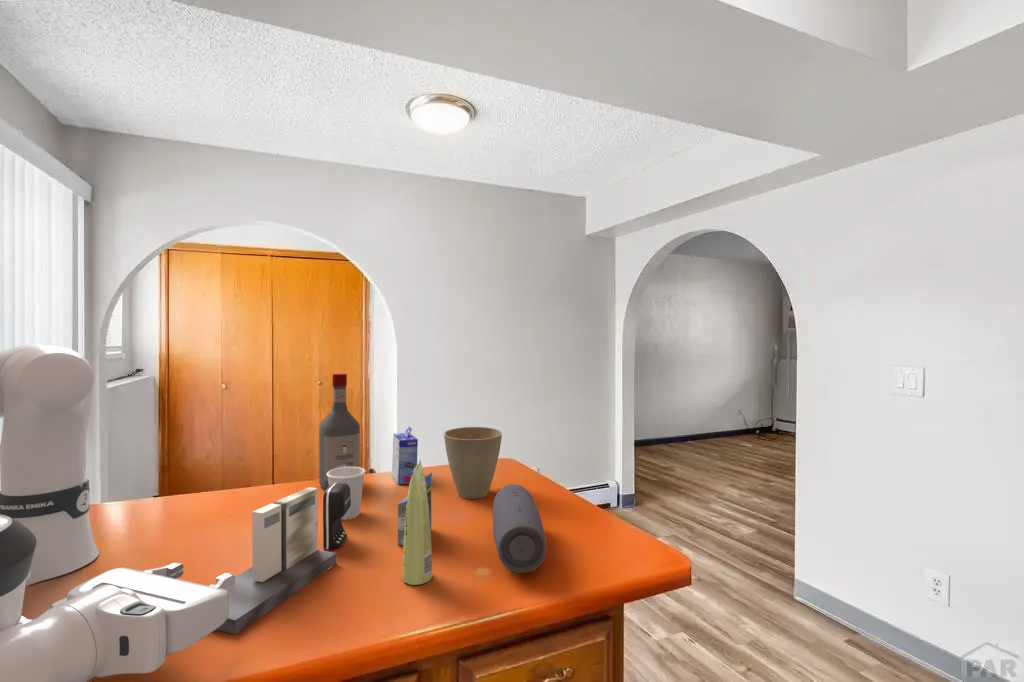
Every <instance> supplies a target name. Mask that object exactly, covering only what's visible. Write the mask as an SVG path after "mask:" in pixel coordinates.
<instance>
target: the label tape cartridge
mask: <svg viewBox="0 0 1024 682" xmlns="http://www.w3.org/2000/svg"><path fill="white" fill-rule="evenodd" d="M432 476H433V472H430V473H429V474H427V476H424V477H425V483H426V491H427V499H428V508H429V518H430V531H431V530H432V479H433V477H432ZM407 498H408V496H406V497H405V498H404V499H403V500H401V501H400V502H399V503H398V504H397V545H398V546H399V545H401V546H400V547H404V528H405V515H406V506H407Z"/></svg>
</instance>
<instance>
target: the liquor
mask: <svg viewBox="0 0 1024 682" xmlns="http://www.w3.org/2000/svg"><path fill="white" fill-rule="evenodd" d="M347 376H348V374H347V373H332V406H331V411H330V412H329V413H328V414H326V416H325V417H324V418H323V419H322V421H321V422H320V424H319V426H318V428H319V429H318V434H319V435H318V438H319V440H318V442H319V443H318V444H319V445H318V446H319V447H318V452H319V453H318V456H319V457H318V459H319V460H318V461H319V464H318V465H319V469H318V471H319V472H318V473H319V474H318V476H319V477H318V479H319V480H318V481H319V485H320V487H321V488H322V489H323V490H324V492H325V491H326V489H327V488H328V487H329V482H328V476H327V472H328V471H330V470H332V469H336V468H340V467H360V466H361V459H360V458H361V455H360V454H361V450H360V449H361V439H360V438H361V435H360V434H361V426H360V424H359V421H358V419H356V418H355V417H354V416H353V414H351V412H349V410H348V406H347V386H348V382H347V381H348V379H347ZM360 468H361V467H360Z"/></svg>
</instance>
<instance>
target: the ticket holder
mask: <svg viewBox="0 0 1024 682" xmlns="http://www.w3.org/2000/svg"><path fill="white" fill-rule="evenodd" d="M272 504H279V505H281V571H280V572H278V573H277V574H275V575H273V576H272V577H270V578H269V579H267V580H265V581H264V582H259V581H254V580H253V566H252V567H250V568H247V569H246V570H244V571H242V572H241V573H239V574H236V575H235V586H234V587H233V588H232V589H230V590H228V593H229V614H228V617H227V619H226V621H225V622H224V623H223V624H222V625H221V626H220V627H218V628H217V629H215V631H221V632H225V633H229V634H233V635H237V634H239V632H241V631H243V630H244V629H246V628H247V627H249V626H250V625H251V624H253V623H254V622H255V621H257V620H258V619H259V618H261V617H262V616H264V615H265V614H267V613H268V612H269V611H271V610H272V609H274V608H275V607H277V606H278V605H280V604H282V603H283V602H284V601H285V600H287V599H289V598H290V597H291V596H292V595H294V594H295V593H297V592H298V591H300V590H301V589H303V588H304V587H306V586H307V585H308V584H310V583H311V582H313V581H314V580H315V579H317V578H318V577H320V576H321V575H323V574H324V573H325V572H324V571H326V570H327V569H328V568H330V567H331V566H333V565H334V564H336V565H337V552H333V551H328V550H322V549H319V488H318V487H317V488H316V487H309V486H308V487H306V488H303V489H302V490H299V491H296V492H294V493H291V494H290V495H287V496H285V497H283V498H280V499H278V500H275V501H272ZM334 566H335V565H334ZM334 566H333V567H334ZM331 568H332V567H331ZM331 568H330V569H331ZM328 570H329V569H328ZM328 570H327V571H328ZM327 571H326V572H327ZM323 572H324V573H323ZM322 573H323V574H322ZM320 574H321V575H320ZM319 575H320V576H319ZM316 577H317V578H316ZM313 579H314V580H313ZM312 580H313V581H312ZM309 582H310V583H309Z"/></svg>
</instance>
